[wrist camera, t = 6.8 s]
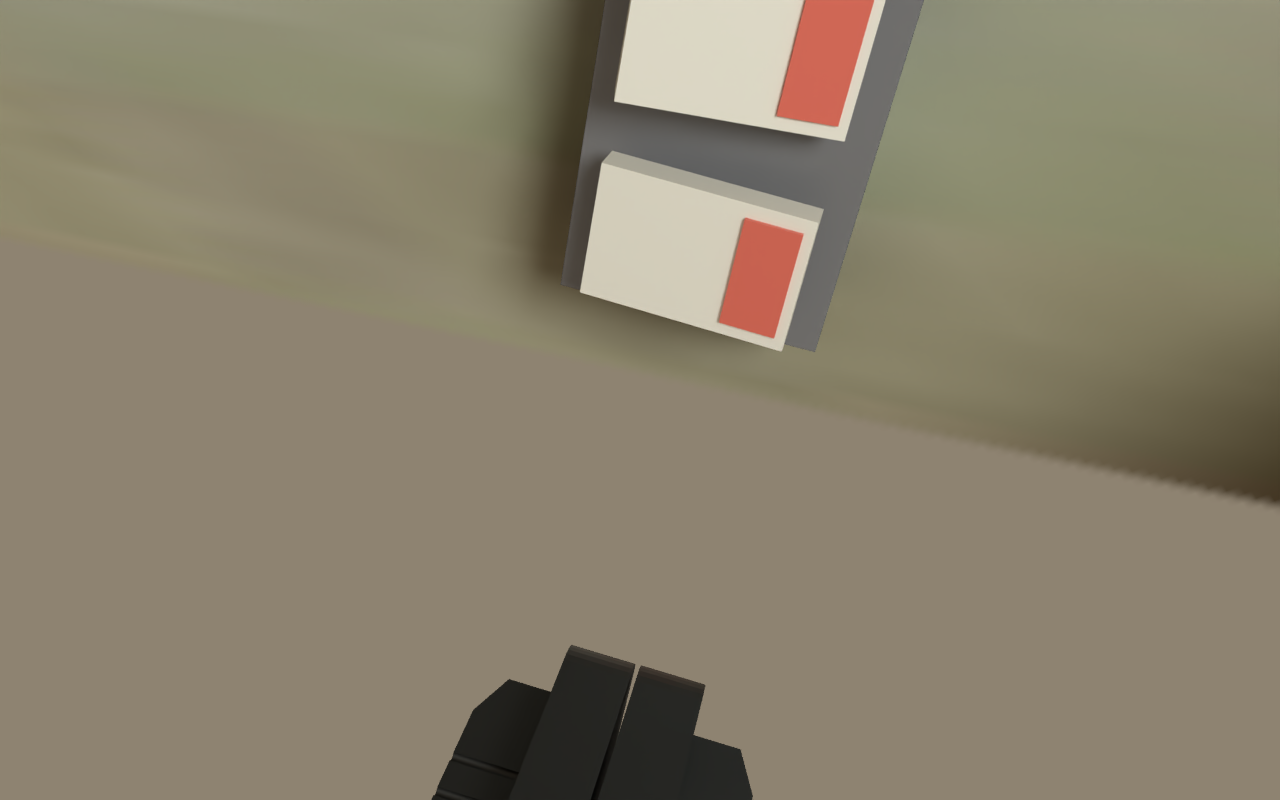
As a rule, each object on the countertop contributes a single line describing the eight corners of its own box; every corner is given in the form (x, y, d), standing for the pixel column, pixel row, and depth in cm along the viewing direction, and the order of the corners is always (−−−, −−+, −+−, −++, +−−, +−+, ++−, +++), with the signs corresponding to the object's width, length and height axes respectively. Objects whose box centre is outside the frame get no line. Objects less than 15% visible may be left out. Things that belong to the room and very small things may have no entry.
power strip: (1020, -349, 28) (1036, -356, 24) (824, 293, 38) (813, 363, 34) (702, -417, 28) (666, -433, 24) (592, 233, 38) (554, 294, 34)
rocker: (823, 209, 31) (818, 225, 30) (787, 335, 33) (780, 353, 32) (612, 150, 31) (600, 164, 30) (590, 277, 34) (578, 294, 33)
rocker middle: (883, -28, 28) (891, -16, 27) (839, 127, 30) (845, 143, 29) (642, -73, 27) (642, -63, 26) (614, 88, 30) (614, 103, 29)
